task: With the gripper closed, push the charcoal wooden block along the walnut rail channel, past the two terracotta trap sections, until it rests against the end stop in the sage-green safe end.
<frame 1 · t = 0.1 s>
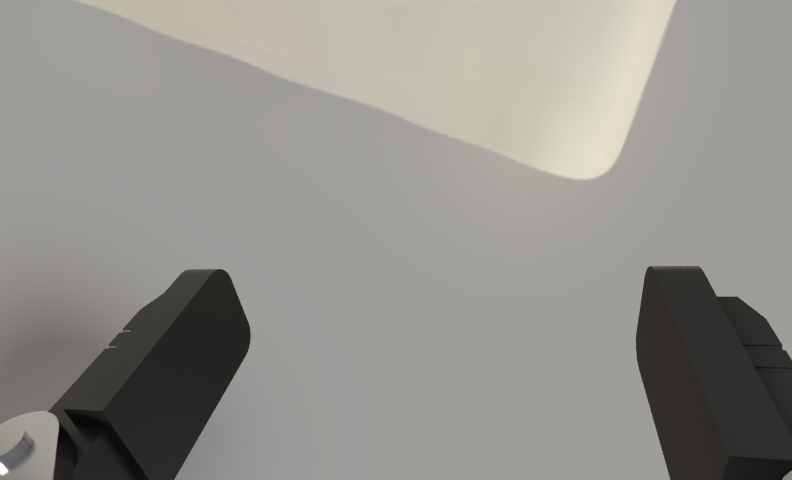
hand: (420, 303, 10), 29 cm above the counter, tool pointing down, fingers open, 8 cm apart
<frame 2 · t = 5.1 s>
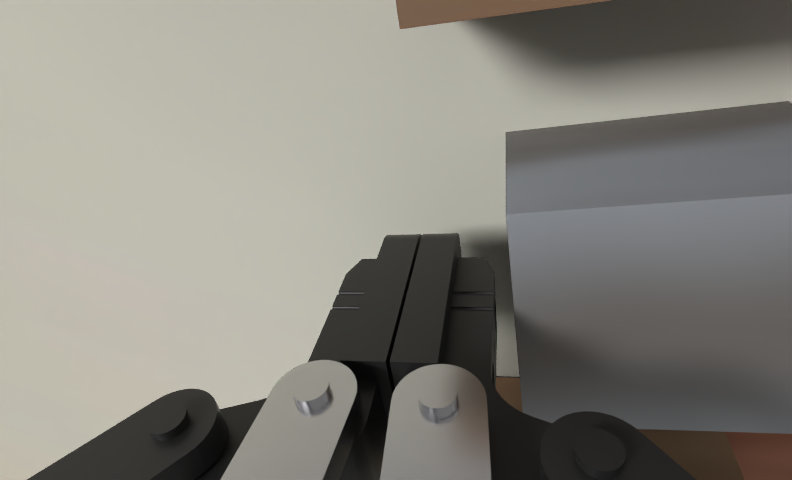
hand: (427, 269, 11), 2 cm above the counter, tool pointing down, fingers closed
block: (628, 222, 11), on the counter, touching gripper
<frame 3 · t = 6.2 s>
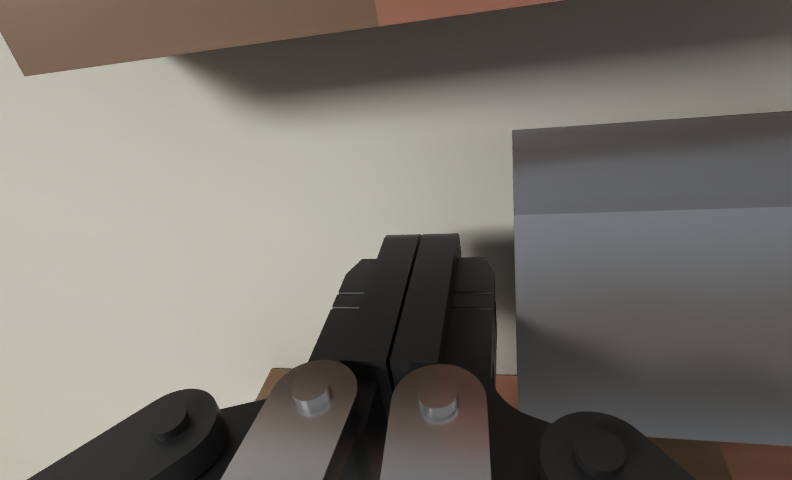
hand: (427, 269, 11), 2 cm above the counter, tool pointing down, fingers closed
block: (630, 228, 11), on the counter, touching gripper
track: (730, 214, 10), on the counter
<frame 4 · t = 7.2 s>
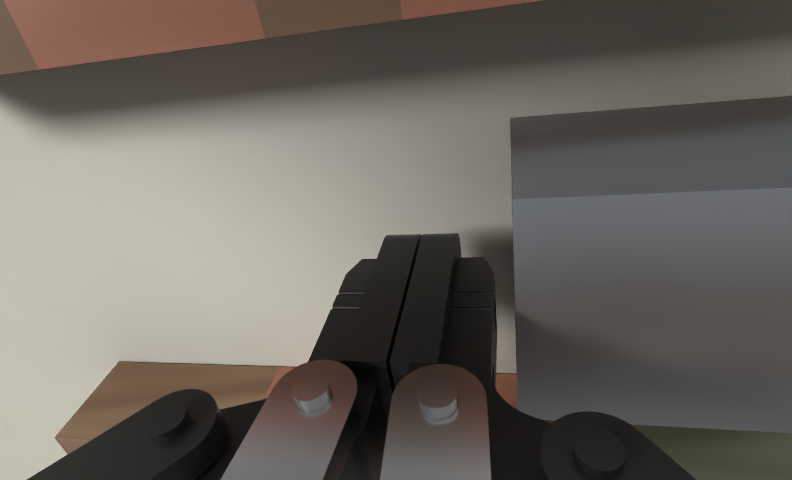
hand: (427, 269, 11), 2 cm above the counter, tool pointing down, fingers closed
block: (630, 217, 11), on the counter, touching gripper
track: (455, 223, 12), on the counter
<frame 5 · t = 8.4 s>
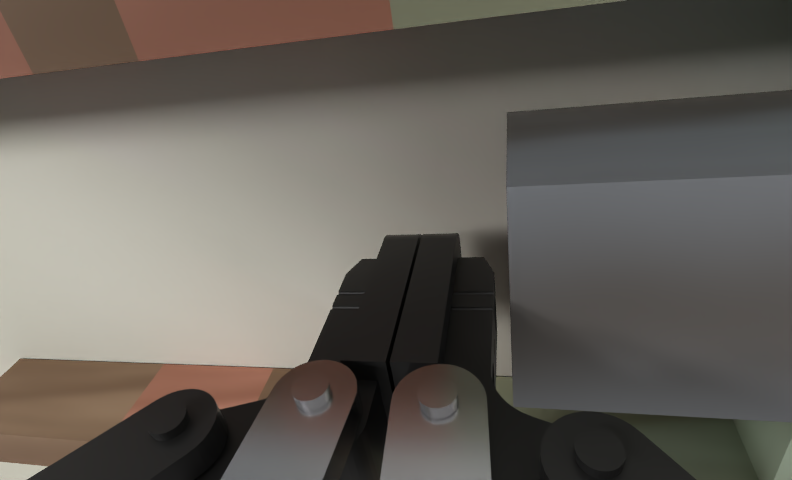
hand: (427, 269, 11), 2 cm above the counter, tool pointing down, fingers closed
block: (626, 208, 11), on the counter, touching gripper
track: (291, 232, 13), on the counter
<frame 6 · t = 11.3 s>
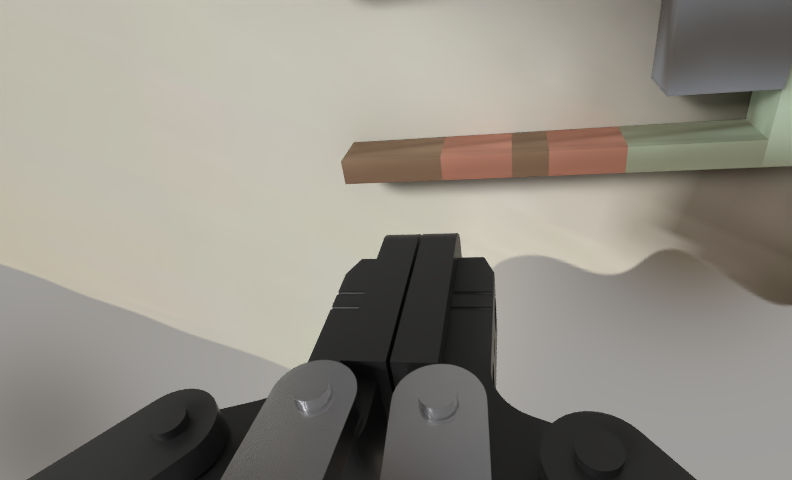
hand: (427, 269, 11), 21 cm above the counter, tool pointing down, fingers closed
block: (710, 23, 26), on the counter
track: (548, 43, 27), on the counter
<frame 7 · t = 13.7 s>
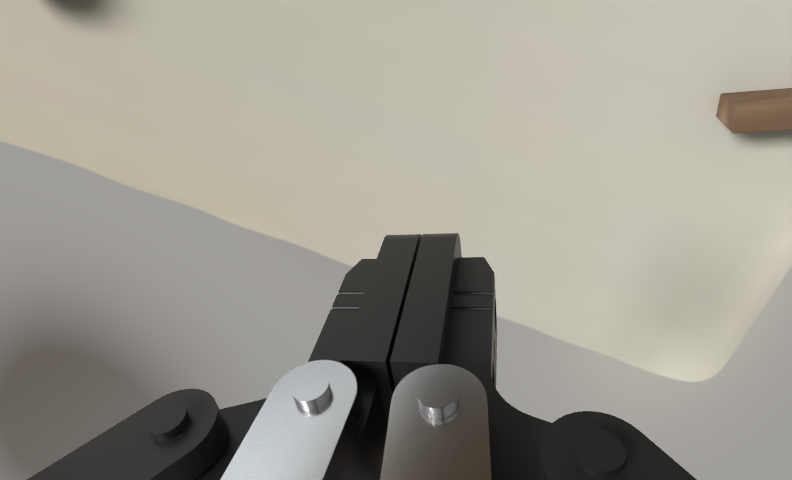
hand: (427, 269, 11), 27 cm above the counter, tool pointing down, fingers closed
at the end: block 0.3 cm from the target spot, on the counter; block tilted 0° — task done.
